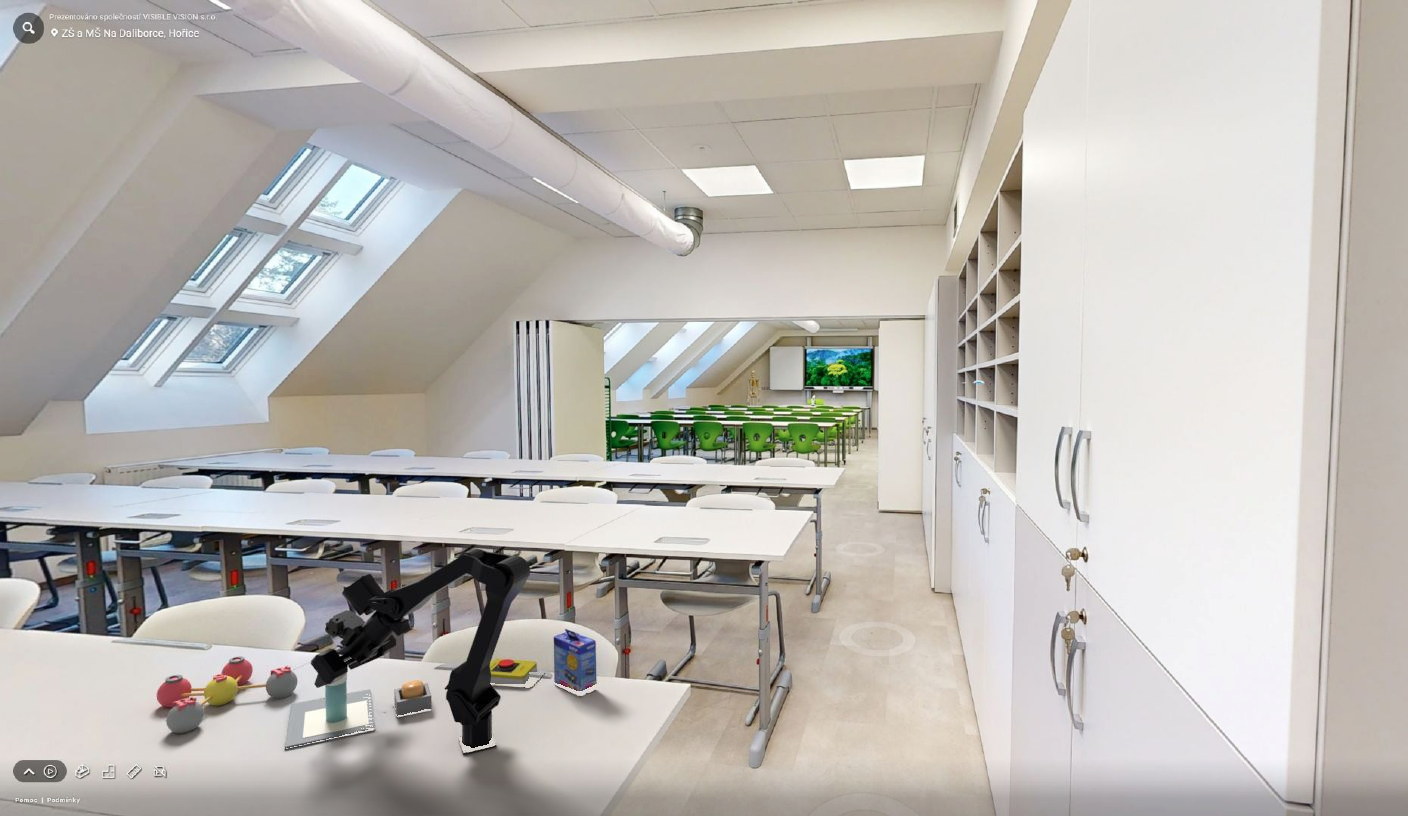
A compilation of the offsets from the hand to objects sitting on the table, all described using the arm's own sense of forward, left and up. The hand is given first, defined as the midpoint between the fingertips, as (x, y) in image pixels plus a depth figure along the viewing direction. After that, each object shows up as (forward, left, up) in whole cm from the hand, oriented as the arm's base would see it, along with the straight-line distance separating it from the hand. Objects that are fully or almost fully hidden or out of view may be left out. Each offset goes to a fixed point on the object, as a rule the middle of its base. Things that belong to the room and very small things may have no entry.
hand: (333, 676), depth 146 cm
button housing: (-1, -15, -10) cm, 18 cm away
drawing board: (+2, +1, -10) cm, 10 cm away
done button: (-1, -15, -7) cm, 17 cm away
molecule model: (+21, +22, -10) cm, 32 cm away
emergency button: (+4, -38, -10) cm, 40 cm away
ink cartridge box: (-8, -50, -10) cm, 52 cm away
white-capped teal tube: (0, 0, -9) cm, 9 cm away
